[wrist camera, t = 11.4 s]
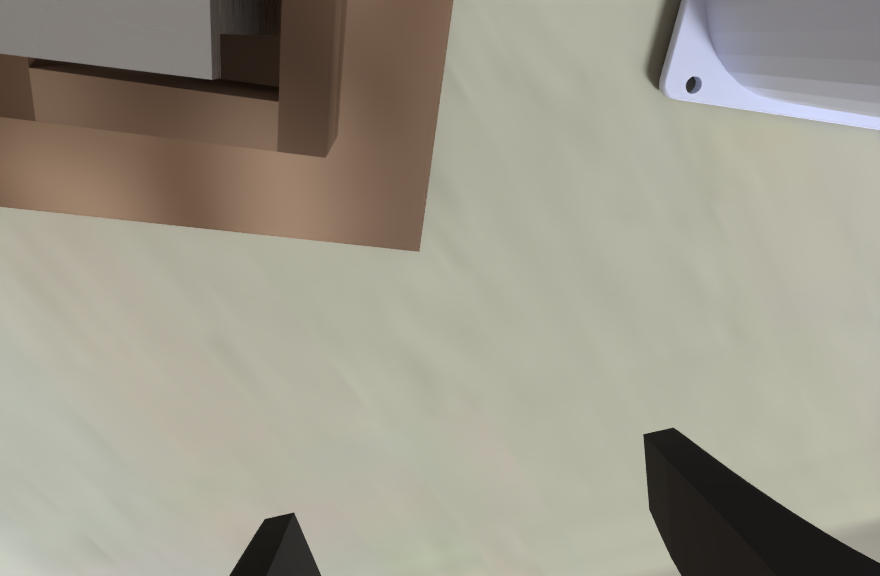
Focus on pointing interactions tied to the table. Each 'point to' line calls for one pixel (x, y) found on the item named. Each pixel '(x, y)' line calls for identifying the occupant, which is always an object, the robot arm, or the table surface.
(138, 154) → the walnut holder
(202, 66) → the pale gray rectangular block
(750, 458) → the table surface
